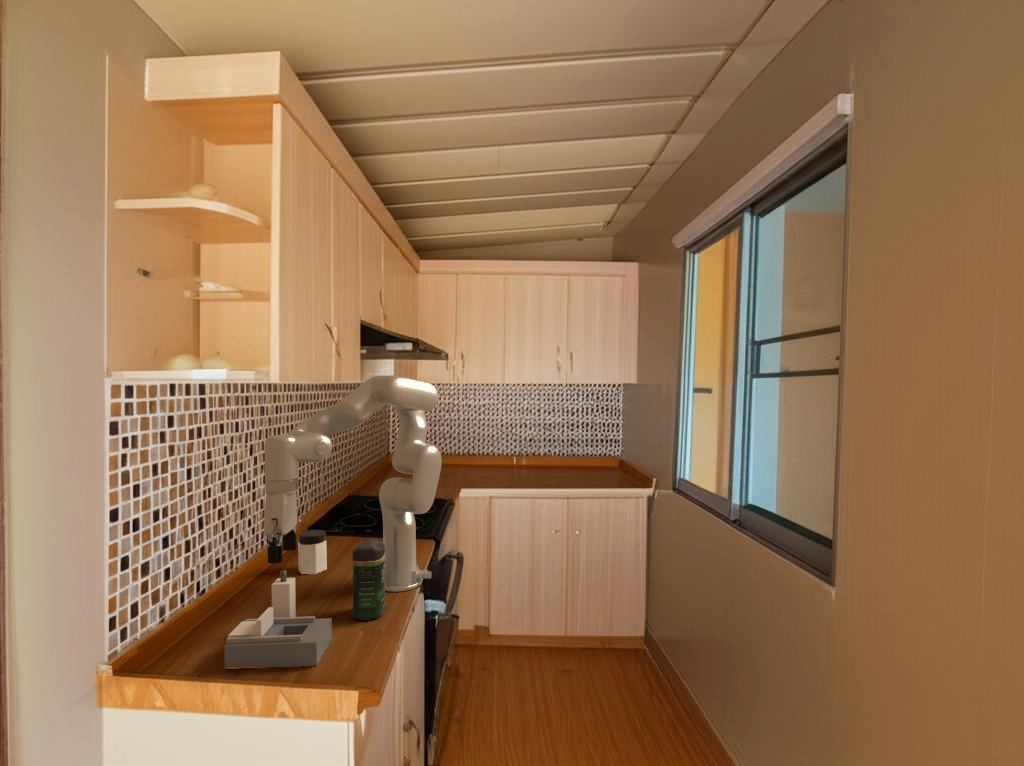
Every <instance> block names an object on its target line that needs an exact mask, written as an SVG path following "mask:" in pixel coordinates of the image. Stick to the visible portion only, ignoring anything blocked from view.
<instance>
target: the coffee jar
mask: <svg viewBox="0 0 1024 766" xmlns="http://www.w3.org/2000/svg"><path fill="white" fill-rule="evenodd" d="M385 609H386V591H385V545H384V543H383V541H381V540H380V539H364V540H363V541H361V542H359V543H358V544H356V546H355V547H354V548H353V550H352V617H353V618H354V619H358V620H361V621H370V620H372V619H376V618H380V617H381V616H382V615H383V613H384V612H385Z"/></svg>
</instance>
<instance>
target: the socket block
mask: <svg viewBox="0 0 1024 766" xmlns="http://www.w3.org/2000/svg"><path fill="white" fill-rule="evenodd" d="M258 618H259V617H258ZM258 618H246V619H245V620H244V621H256V620H257V619H258ZM332 619H333V618H331V617H329V618H327V617H325V618H316V616H314V615H313V616H312V615H311V616H296V617H283V618H273V623H274V624H273V625H272V626H271V627H270V628H269V630H268V631H267V632H266V633H265V634H264V635H263V636H253V637H228V636H227V638H226V644H225V645H224V647H223V649H224V669H225V668H228V667H281V668H299V667H301V666H304V667H317V666H318V665H317V664H319V663H320V661H321V660H322V658H321V657H323V656H324V654H325V653H326V651H325V650H327V649H326V648H328V647H329V646H330V644H331V642H332V640H333V629H332V628H333V624H332V621H333V620H332ZM330 641H331V642H330ZM329 643H330V644H329ZM322 655H323V656H322ZM318 662H319V663H318ZM314 665H315V666H314ZM316 665H317V666H316Z"/></svg>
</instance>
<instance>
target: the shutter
mask: <svg viewBox="0 0 1024 766" xmlns="http://www.w3.org/2000/svg"><path fill="white" fill-rule="evenodd" d="M256 619H257V618H256ZM273 624H274V623H273V607H272V606H269V607H267V609H266V610H265V611H264V612H263V613H261V615H259V617H258V619H257V620H256V621H245V620H244V621H241V622H239V624H238V625H236V626H235V628H234V629H232V631H231V632H230V633H229V634H228V635H227V638H228V637H253V636H263V635H264V634H265V633H266V632H267V631H268V630H269V628H270V627H271V626H272V625H273Z"/></svg>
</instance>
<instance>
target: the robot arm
mask: <svg viewBox="0 0 1024 766" xmlns="http://www.w3.org/2000/svg"><path fill="white" fill-rule="evenodd" d="M438 402H439V392H438V390H437V388H436V386H434V384H432V383H430V382H427V381H422V380H418V379H415V378H414V379H413V378H409V377H404V376H401V375H392V374H391V375H390V374H389V375H374V376H371V377H370V378H368V379H367V380H365V381H364V382H363V383H361V384H360V385H359V386H357V387H356V388H355V389H354V390H353V391H351V392H350V393H348V394H347V395H346V396H345V397H343V398H342V399H341V400H340V401H338V402H336V403H334V404H332V405H330V406H328V407H326V408H325V409H322V410H320V411H318V412H316V413H314V414H312V415H311V416H309V417H308V418H305V419H304V420H302V421H301V422H300V423H298V425H296V426H295V427H294V428H292V429H291V430H290V431H289V432H288V433H287V434H276V435H275V434H274V435H270V436H267V437H266V439H265V440H264V494H265V495H266V496H265V503H264V514H263V515H264V518H263V535H264V536H265V537H266V539H265V540H266V547H267V563H268V564H281V563H282V562H283V559H284V558H283V551H284V552H285V551H289V552H290V551H296V550H297V528H296V527H297V524H298V506H297V504H298V503H297V502H298V501H297V492H299V490H300V489H299V464H300V463H320V462H323V461H324V460H326V459H328V458H329V457H330V455H331V454H332V450H333V441H332V440H331V438H329V436H332V435H335V434H339V433H343V432H346V431H350V430H353V429H356V428H358V427H360V426H361V425H362V424H364V423H365V422H366V421H368V419H369V418H371V417H372V416H373V415H374V414H375V413H377V411H379V410H380V409H381V408H383V407H384V406H392V408H393V409H394V411H395V413H396V415H397V417H398V421H399V427H398V433H397V437H396V441H395V445H394V449H393V453H392V454H393V455H392V460H391V461H392V462H391V463H392V467H393V468H394V470H395V471H397V472H399V473H401V474H406V475H412V478H408V477H407V478H406V477H399V476H396V477H395V476H394V477H391V478H388V479H386V480H385V481H384V482H383V483H382V485H381V486H380V488H379V492H378V493H379V495H378V499H379V504H380V509H381V514H382V529H383V530H382V532H383V533H382V540H383V541H382V542H383V543H384V545H385V592H386V591H387V592H406V591H409V590H414V589H417V587H419V586H420V585H421V584H422V582H423V581H422V580H423V579H426V580H427V579H432V571H429V569H421V568H419V565H418V564H417V538H416V537H417V536H416V535H417V533H416V531H417V526H416V525H417V524H416V519H415V515H423V514H425V513H427V512H428V511H429V510H430V509H431V507H432V506H433V504H434V501H435V498H436V493H437V489H438V485H439V479H440V475H441V470H442V462H443V461H442V454H441V451H440V449H439V448H438V447H437V446H436V445H434V444H432V443H427V442H426V439H427V433H428V422H427V418H426V416H425V414H424V412H429V411H431V410H433V409H435V407H436V406H437V405H438Z"/></svg>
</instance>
